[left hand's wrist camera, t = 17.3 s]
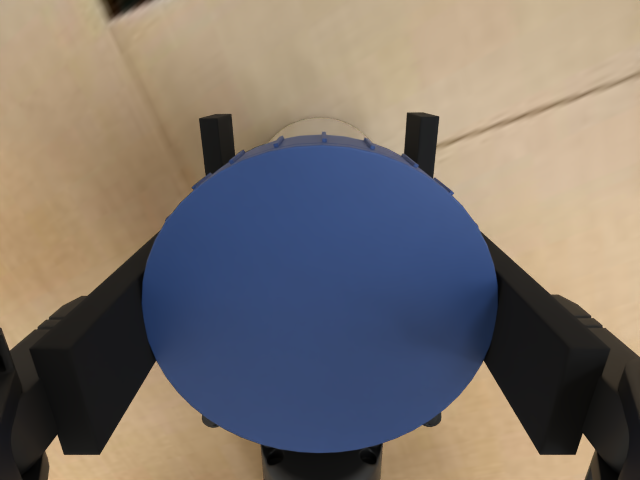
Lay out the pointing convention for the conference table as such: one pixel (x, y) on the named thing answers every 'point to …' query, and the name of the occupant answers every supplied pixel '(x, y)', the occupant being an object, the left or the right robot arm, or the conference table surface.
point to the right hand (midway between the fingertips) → (319, 115)
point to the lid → (319, 295)
